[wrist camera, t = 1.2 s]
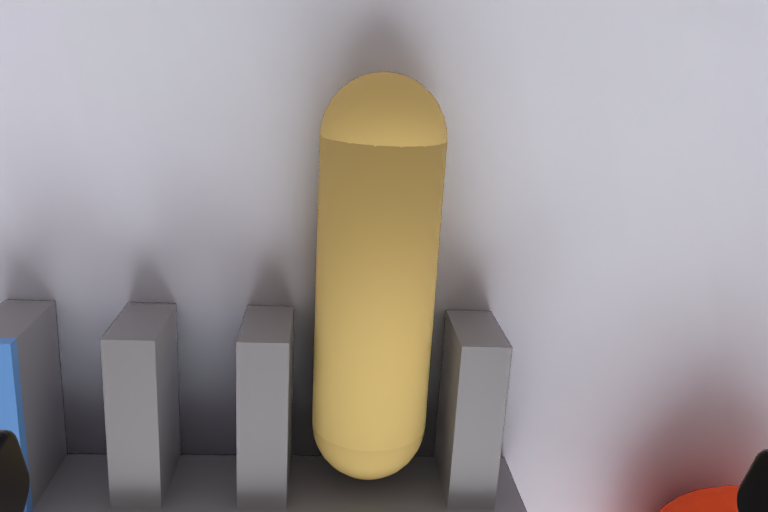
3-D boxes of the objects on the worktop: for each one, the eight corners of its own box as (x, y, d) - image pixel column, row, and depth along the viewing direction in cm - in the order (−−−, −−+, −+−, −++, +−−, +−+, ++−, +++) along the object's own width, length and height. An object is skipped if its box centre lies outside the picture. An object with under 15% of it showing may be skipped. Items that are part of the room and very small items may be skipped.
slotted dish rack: (498, 505, 26) (532, 598, 22) (-239, 504, 24) (-364, 608, 20) (520, 311, 24) (562, 372, 20) (-285, 292, 22) (-436, 355, 18)
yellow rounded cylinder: (415, 441, 26) (428, 503, 22) (311, 440, 25) (309, 503, 22) (441, 71, 22) (462, 78, 19) (322, 66, 22) (321, 71, 18)
